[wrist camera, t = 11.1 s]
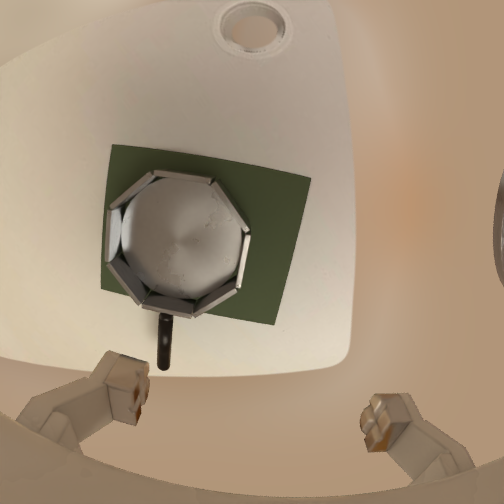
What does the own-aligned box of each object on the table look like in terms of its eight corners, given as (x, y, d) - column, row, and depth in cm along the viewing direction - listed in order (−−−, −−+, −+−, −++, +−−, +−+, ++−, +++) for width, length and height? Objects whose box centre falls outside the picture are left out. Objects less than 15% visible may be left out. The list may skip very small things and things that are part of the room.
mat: (311, 178, 28) (311, 178, 28) (274, 324, 33) (274, 325, 32) (112, 144, 27) (112, 144, 27) (101, 288, 31) (100, 288, 31)
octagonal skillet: (130, 163, 27) (109, 164, 23) (259, 183, 28) (261, 187, 23) (120, 336, 33) (106, 358, 29) (225, 358, 34) (222, 385, 29)
